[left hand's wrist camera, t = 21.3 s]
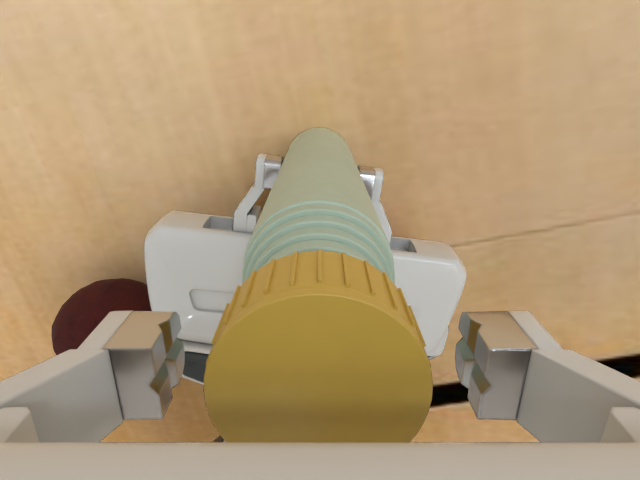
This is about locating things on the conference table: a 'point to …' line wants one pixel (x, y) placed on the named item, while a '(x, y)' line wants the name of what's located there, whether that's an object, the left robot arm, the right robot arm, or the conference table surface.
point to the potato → (95, 309)
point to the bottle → (318, 207)
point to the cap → (318, 356)
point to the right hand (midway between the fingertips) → (320, 161)
